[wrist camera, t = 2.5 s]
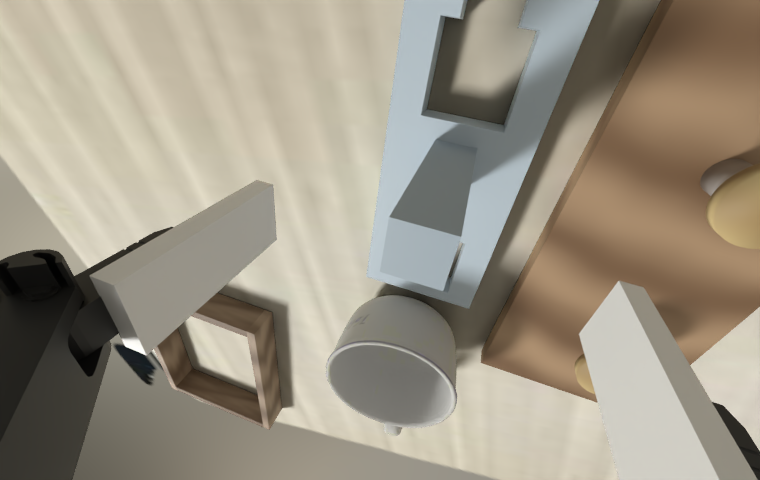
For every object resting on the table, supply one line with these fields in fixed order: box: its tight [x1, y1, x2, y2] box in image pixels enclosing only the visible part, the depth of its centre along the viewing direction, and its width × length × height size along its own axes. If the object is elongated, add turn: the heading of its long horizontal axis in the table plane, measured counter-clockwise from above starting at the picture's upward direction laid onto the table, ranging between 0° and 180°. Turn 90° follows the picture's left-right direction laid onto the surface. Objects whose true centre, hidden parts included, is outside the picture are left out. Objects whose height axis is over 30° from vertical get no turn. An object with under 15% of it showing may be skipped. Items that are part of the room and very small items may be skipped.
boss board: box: [481, 0, 760, 403], centre depth 19 cm, size 28×13×5 cm, turn 172°
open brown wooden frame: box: [154, 293, 282, 429], centre depth 45 cm, size 23×18×4 cm
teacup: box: [326, 295, 457, 436], centre depth 30 cm, size 14×11×8 cm
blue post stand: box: [366, 0, 599, 309], centre depth 17 cm, size 24×9×12 cm, turn 172°
